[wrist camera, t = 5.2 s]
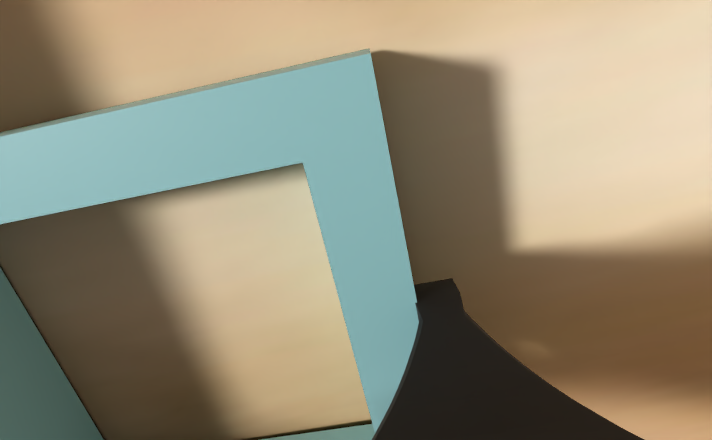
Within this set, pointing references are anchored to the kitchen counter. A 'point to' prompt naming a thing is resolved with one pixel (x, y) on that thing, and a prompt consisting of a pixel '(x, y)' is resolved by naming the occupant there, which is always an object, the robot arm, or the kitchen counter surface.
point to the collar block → (209, 163)
